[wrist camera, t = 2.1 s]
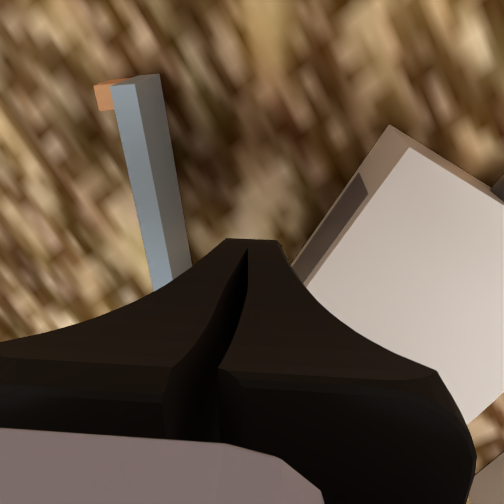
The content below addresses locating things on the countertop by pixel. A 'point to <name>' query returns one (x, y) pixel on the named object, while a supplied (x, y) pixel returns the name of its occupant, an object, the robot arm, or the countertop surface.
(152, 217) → the side door
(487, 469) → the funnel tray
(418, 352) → the white box with knob
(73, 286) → the countertop surface
